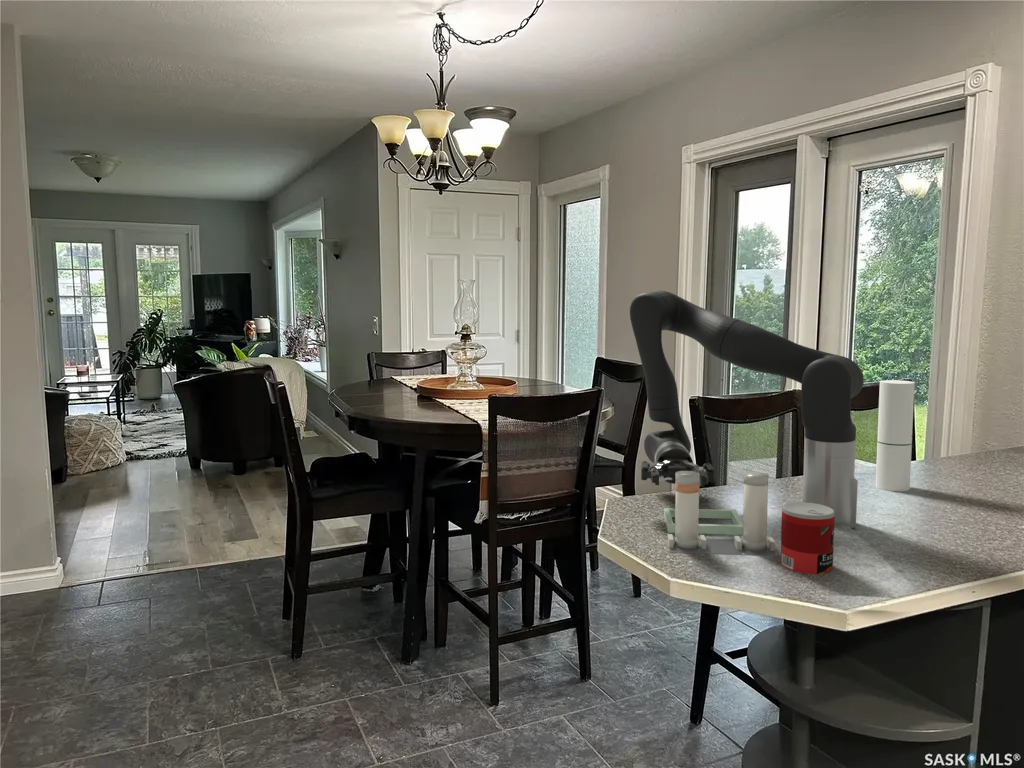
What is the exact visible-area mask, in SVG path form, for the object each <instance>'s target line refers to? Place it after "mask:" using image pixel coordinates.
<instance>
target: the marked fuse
mask: <svg viewBox="0 0 1024 768" xmlns="http://www.w3.org/2000/svg"><path fill="white" fill-rule="evenodd" d="M699 478H700V474H699V473H697V472H693V471H679V472H676V475H675V484H674V485H675V487H674V489H675V506H674V507H675V517H674V519H675V533H674V534H675V535H674V538H675V546H676V547H678V548H681V549H696V548H698V547H699V539H700V536H699V534H698V531H699V524H700V523H699V519H700V518H699V509H700V484H699Z"/></svg>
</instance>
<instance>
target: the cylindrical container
mask: <svg viewBox="0 0 1024 768" xmlns="http://www.w3.org/2000/svg"><path fill="white" fill-rule="evenodd" d="M914 402H915V381H911V380H902V379H901V380H900V379H899V380H897V379H896V380H895V379H890V380H889V379H886V380H879V396H878V418H877V419H878V420H877V443H876V467H875V469H876V470H875V487H876V488H877V489H879V490H882V491H889V492H908V491H910V487H911V472H912V471H911V467H912V465H911V464H912V448H913V444H912V443H913V425H914V424H913V423H914V422H913V421H914Z"/></svg>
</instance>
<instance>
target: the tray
mask: <svg viewBox="0 0 1024 768" xmlns="http://www.w3.org/2000/svg"><path fill="white" fill-rule="evenodd" d="M663 517H664V521H665V525H666V530H667V534H675V523H674V521H673V518H675V508H673V507H672V508H671V507H670V508H667V507H664V508H663ZM699 519H725V520H726V519H729V520H730V519H731V521H732V523H733V524H719V523H718V524H717V523H715V524H714V523H710V524H709V523H699V531H698V535H734V536H739V535H741V536H743V519H742V518H741V517H740V515H739V514H738V511H737V510H736V509H725V508H724V509H723V508H722V509H721V508H720V509H719V508H718V509H715V508H714V509H713V508H712V509H711V508H699Z"/></svg>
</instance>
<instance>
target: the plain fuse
mask: <svg viewBox="0 0 1024 768" xmlns="http://www.w3.org/2000/svg"><path fill="white" fill-rule="evenodd" d="M769 476H770V475H769V474H768V473H765V472H761V471H746V472H744V473H743V480H742V482H743V496H742V497H743V499H742V500H743V501H742V502H743V503H742V506H743V507H742V522H743V535H742V539H741V540H742V547H743V548H744V549H746V550H750V551H764V550H766V549H767V537H768V503H769V501H768V500H769V496H768V495H769V494H768V493H769Z"/></svg>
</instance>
